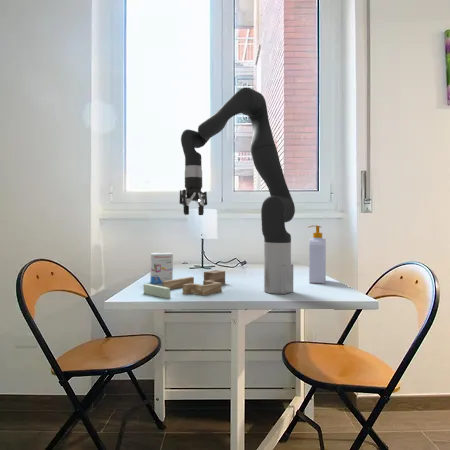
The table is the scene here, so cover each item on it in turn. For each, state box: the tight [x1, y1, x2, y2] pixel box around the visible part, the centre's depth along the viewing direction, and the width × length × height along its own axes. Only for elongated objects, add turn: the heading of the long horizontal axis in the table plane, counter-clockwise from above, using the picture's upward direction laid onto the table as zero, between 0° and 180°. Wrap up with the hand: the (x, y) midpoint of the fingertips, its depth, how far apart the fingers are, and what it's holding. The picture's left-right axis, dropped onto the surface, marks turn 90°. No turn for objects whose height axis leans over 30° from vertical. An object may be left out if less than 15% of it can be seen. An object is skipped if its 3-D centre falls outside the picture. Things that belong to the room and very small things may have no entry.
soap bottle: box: [307, 225, 327, 285], centre depth 143 cm, size 9×7×23 cm
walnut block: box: [203, 269, 226, 285], centre depth 138 cm, size 5×7×5 cm
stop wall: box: [143, 283, 171, 299], centre depth 116 cm, size 12×2×3 cm, turn 49°
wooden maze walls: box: [162, 276, 223, 296], centre depth 125 cm, size 18×14×3 cm
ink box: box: [150, 252, 174, 284], centre depth 142 cm, size 9×5×12 cm, turn 105°
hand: (193, 215), depth 150 cm, fingers open, 8 cm apart
